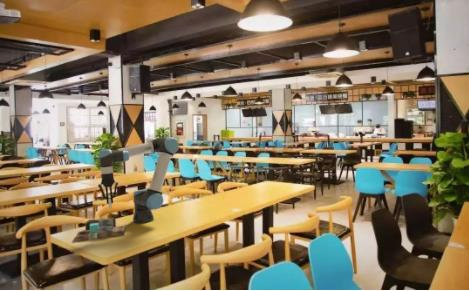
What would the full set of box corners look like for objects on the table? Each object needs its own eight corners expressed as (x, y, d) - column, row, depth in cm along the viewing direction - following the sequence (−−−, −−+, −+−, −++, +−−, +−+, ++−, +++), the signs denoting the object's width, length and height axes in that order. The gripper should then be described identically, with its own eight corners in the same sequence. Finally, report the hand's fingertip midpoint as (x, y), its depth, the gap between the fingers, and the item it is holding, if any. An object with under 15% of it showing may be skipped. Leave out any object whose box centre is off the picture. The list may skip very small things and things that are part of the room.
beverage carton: (89, 228, 255) (88, 219, 255) (116, 226, 256) (115, 217, 256) (85, 231, 247) (84, 222, 247) (113, 229, 248) (112, 220, 248)
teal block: (99, 230, 236) (98, 222, 236) (98, 232, 231) (97, 224, 231) (91, 231, 235) (90, 223, 235) (90, 233, 230) (89, 225, 230)
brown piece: (124, 230, 244) (123, 217, 244) (124, 235, 233) (123, 221, 232) (78, 235, 236) (77, 222, 236) (76, 241, 225) (74, 227, 224)
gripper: (117, 171, 239) (121, 205, 241) (97, 173, 236) (100, 208, 238) (117, 172, 232) (120, 208, 234) (95, 174, 229) (99, 211, 230)
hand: (110, 208), depth 236 cm, fingers closed
